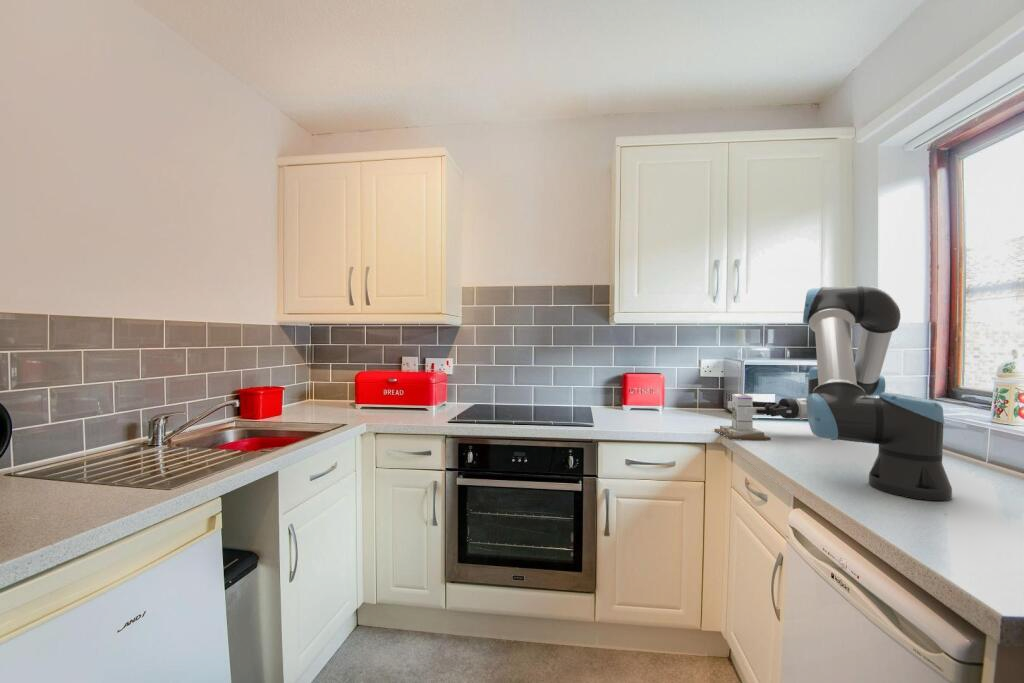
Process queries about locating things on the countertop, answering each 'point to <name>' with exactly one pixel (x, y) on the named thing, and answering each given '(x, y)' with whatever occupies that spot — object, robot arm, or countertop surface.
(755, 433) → the board
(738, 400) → the syrup box
